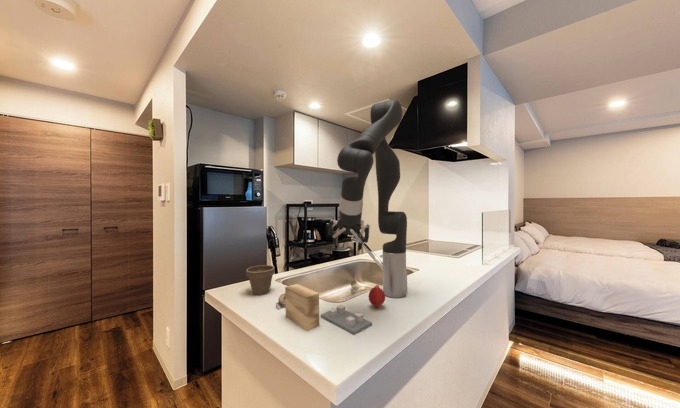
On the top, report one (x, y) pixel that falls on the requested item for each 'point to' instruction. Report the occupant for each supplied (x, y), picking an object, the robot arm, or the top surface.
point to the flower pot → (260, 278)
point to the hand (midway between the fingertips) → (347, 247)
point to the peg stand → (346, 319)
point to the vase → (281, 301)
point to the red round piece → (376, 296)
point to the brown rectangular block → (302, 306)
